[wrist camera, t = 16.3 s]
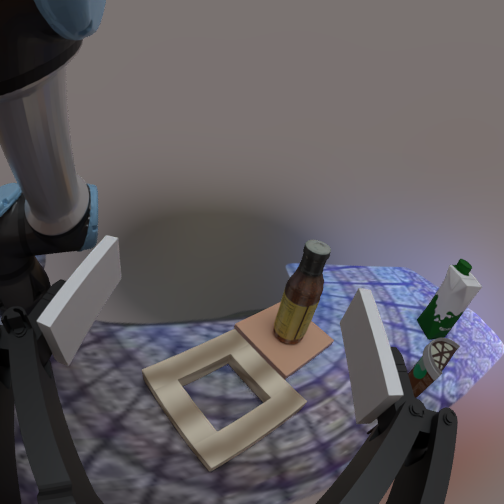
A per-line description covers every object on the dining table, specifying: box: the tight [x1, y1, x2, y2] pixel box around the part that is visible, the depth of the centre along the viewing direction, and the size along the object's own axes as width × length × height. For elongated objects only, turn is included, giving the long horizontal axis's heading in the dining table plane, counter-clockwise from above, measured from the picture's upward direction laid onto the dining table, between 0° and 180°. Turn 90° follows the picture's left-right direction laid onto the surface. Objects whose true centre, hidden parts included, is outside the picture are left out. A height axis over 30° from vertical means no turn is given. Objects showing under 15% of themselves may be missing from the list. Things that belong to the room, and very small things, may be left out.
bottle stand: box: [142, 329, 307, 472], centre depth 39 cm, size 18×18×3 cm
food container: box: [408, 338, 460, 398], centre depth 45 cm, size 12×6×10 cm, turn 123°
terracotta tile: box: [234, 302, 334, 380], centre depth 53 cm, size 14×14×1 cm
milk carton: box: [417, 259, 482, 339], centre depth 56 cm, size 9×9×20 cm
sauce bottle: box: [274, 240, 331, 344], centre depth 47 cm, size 6×6×20 cm
